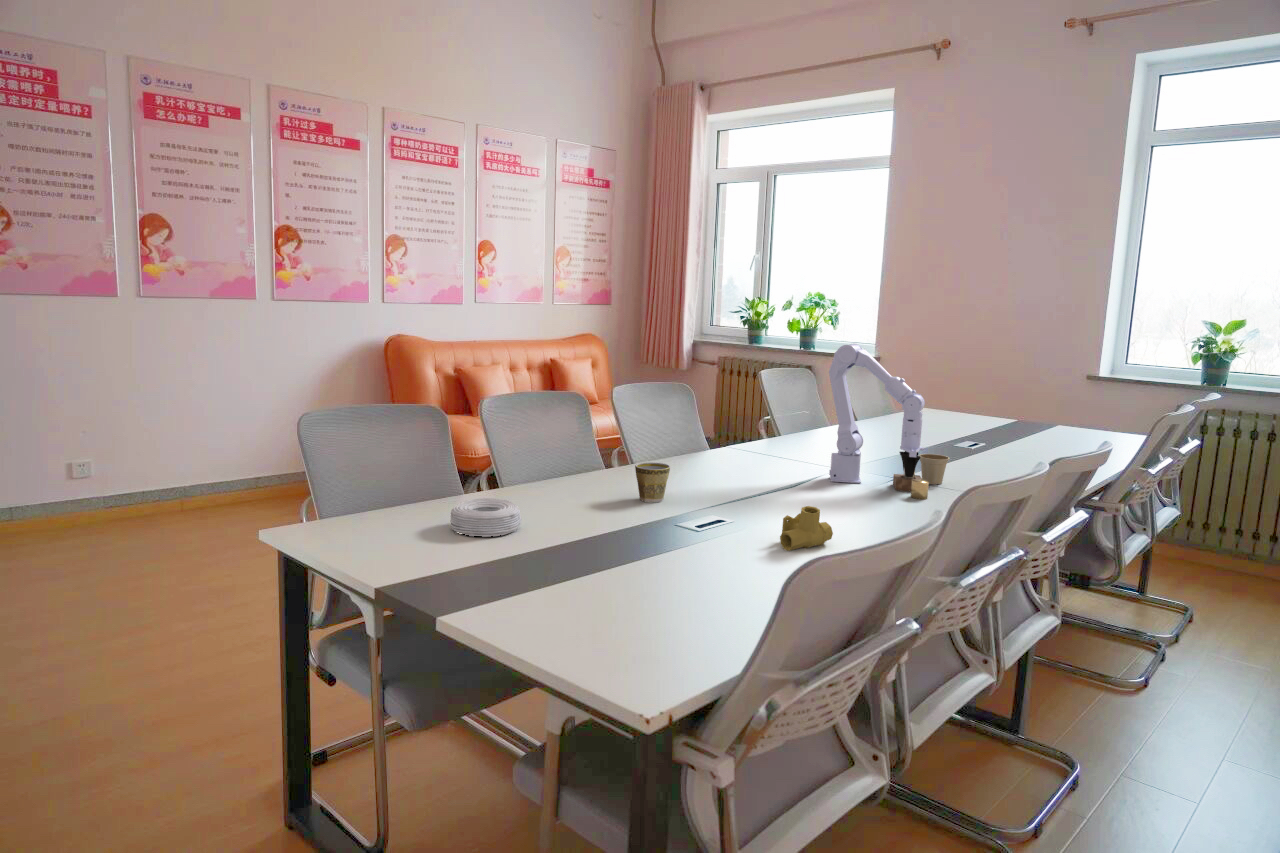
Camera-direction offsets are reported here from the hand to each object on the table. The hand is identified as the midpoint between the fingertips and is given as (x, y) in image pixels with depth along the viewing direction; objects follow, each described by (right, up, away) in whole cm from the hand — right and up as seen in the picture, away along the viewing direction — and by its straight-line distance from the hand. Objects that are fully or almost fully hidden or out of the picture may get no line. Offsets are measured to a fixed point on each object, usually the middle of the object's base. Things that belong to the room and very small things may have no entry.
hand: (908, 475), depth 268 cm
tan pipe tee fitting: (-46, -13, -62) cm, 78 cm away
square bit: (0, -3, 0) cm, 3 cm away
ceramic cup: (-80, -6, -21) cm, 83 cm away
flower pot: (+11, -3, +10) cm, 15 cm away
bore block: (0, -4, +1) cm, 4 cm away
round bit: (0, -6, -11) cm, 13 cm away
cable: (-122, -10, -55) cm, 135 cm away
